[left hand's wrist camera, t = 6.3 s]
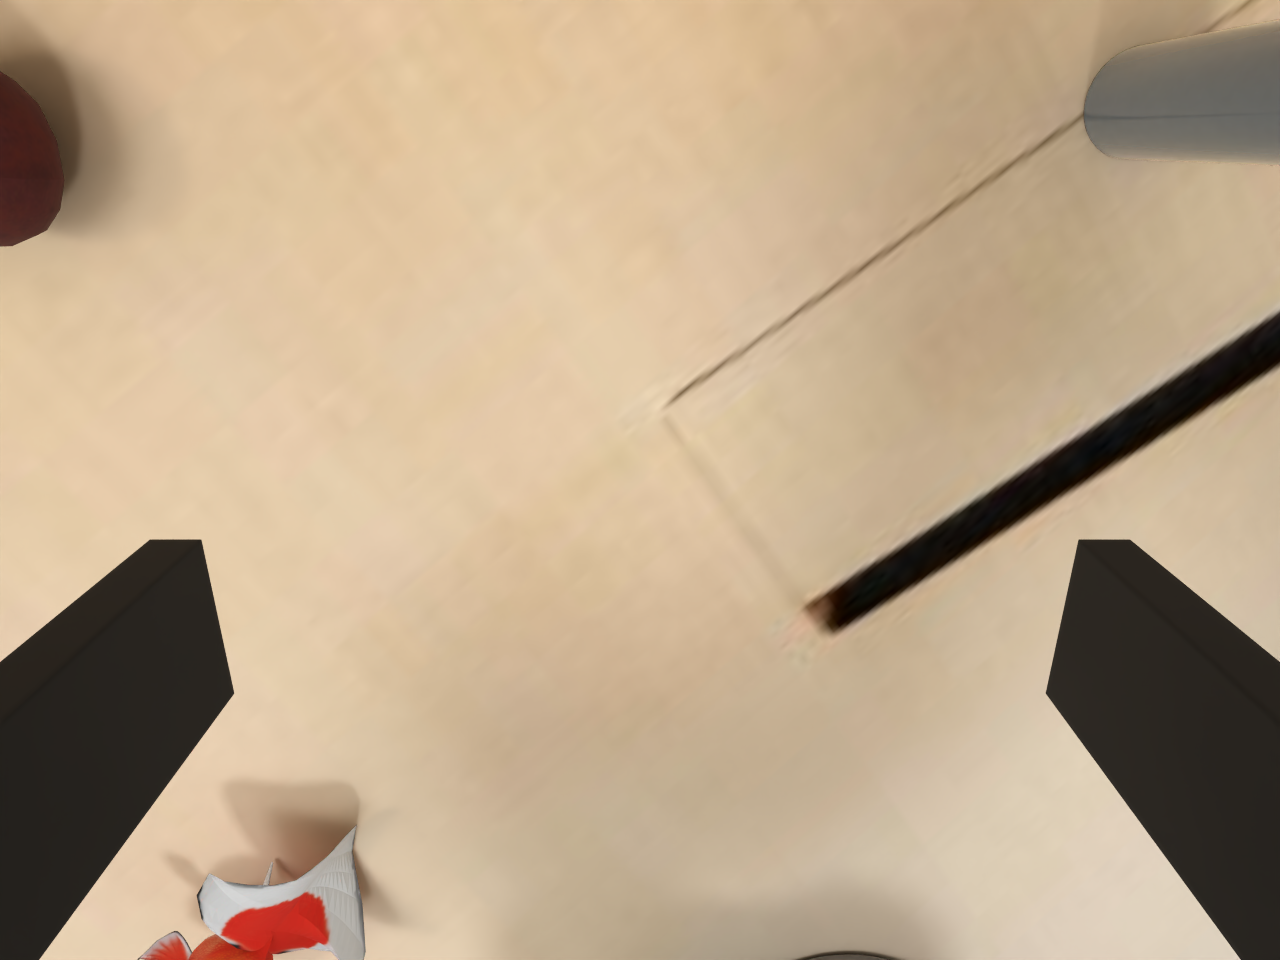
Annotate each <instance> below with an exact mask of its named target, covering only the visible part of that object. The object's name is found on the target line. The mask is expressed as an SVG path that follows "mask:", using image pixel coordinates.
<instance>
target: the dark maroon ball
mask: <svg viewBox="0 0 1280 960" xmlns="http://www.w3.org/2000/svg"><path fill="white" fill-rule="evenodd" d="M63 186H64V176H63V171H62V166H61V160H60V155H59V150H58V145H57V140H56V138H55V136H54V134H53V132H52V130H51V128H50V126H49V124H48V122H47V120H46V118H45V116H44V114H43V112H42V110H41V108H40V106H39V104H38V103H37V102H36V101H35V100H34V99H33V98H32V97H31V96H30V95H29V94H28V93H27V92H25V91H24V90H23V89H22V88H21V87H20V86H19V85H18V84H17V83H16V82H15V81H14V80H13V79H11V78H9V77H8V76H6V75H5V74H3V73H2V72H0V246H13V245H16V244H18V243H20V242H22V241H25V240H27V239H29V238H32V237H34V236H36V235H38V234H40V233H42V232H44V231H46V230H47V229H48V227H49V226H50V224H51V223H52V221H53V220H54V218H55V217H56V215H57V213H58V212H59V210H60V207H61V200H62V193H63Z"/></svg>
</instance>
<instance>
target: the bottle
mask: <svg viewBox="0 0 1280 960" xmlns="http://www.w3.org/2000/svg"><path fill="white" fill-rule="evenodd" d="M1084 122H1085V127H1086V130H1087V133H1088V135H1089V138H1090V139H1091V141H1092V142H1093V144H1094V145H1095V146H1096V147H1097V148H1098V149H1099V150H1100V151H1101V152H1103V153H1104V154H1106V155H1108V156H1111V157H1113V158H1118V159H1130V160H1154V161H1179V162H1203V163H1228V164H1252V165H1277V166H1280V19H1277V20H1272V21H1267V22H1261V23H1256V24H1251V25H1245V26H1240V27H1235V28H1229V29H1224V30H1219V31H1214V32H1208V33H1203V34H1198V35H1192V36H1187V37H1182V38H1176V39H1171V40H1166V41H1160V42H1155V43H1150V44H1144V45H1140V46H1135V47H1132V48H1129V49H1127V50H1125V51H1123V52H1121V53H1119V54H1118V55H1116V56H1115V57H1113V58H1112V59H1111V60H1110V61H1109V62H1107V63H1106V64H1105V66H1104V67H1103V68H1102V69H1101V70H1100V71H1099V73H1098V74H1097V75H1096V77H1095V79H1094V80H1093V82H1092V84H1091V86H1090V88H1089V91H1088V94H1087V96H1086V101H1085V106H1084Z"/></svg>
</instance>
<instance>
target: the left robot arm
mask: <svg viewBox="0 0 1280 960" xmlns="http://www.w3.org/2000/svg"><path fill="white" fill-rule="evenodd" d="M233 694H234V690H233V685H232V681H231V676H230V671H229V667H228V662H227V657H226V653H225V648H224V643H223V639H222V634H221V629H220V625H219V620H218V615H217V611H216V606H215V601H214V597H213V592H212V587H211V583H210V578H209V573H208V569H207V564H206V559H205V555H204V550H203V545H202V541H201V540H149V541H148V542H147V543H145V544H144V545H143V546H142V547H140V548H139V549H138V550H137V551H136V552H134V553H133V554H132V555H131V556H129V557H128V558H127V559H126V560H125V561H123V562H122V563H121V564H120V565H118V566H117V567H116V568H115V569H114V570H112V571H111V572H110V573H109V574H107V575H106V576H105V577H104V578H103V579H101V580H100V581H99V582H98V583H96V584H95V585H94V586H93V587H92V588H90V589H89V590H88V591H87V592H85V593H84V594H83V595H82V596H81V597H79V598H78V599H77V600H76V601H74V602H73V603H72V604H71V605H69V606H68V607H67V608H66V609H65V610H63V611H62V612H61V613H60V614H58V615H57V616H56V617H55V618H54V619H52V620H51V621H50V622H49V623H47V624H46V625H45V626H44V627H43V628H41V629H40V630H39V631H38V632H36V633H35V634H34V635H33V636H32V637H30V638H29V639H28V640H27V641H25V642H24V643H23V644H22V645H21V646H19V647H18V648H17V649H16V650H14V651H13V652H12V653H11V654H10V655H8V656H7V657H6V658H5V659H3V660H2V661H1V662H0V960H39V959H40V958H41V956H42V955H43V954H44V952H45V951H46V950H47V948H48V947H49V945H50V944H51V943H52V941H53V940H54V939H55V937H56V936H57V935H58V933H59V932H60V930H61V929H62V928H63V926H64V925H65V924H66V922H67V921H68V920H69V918H70V917H71V915H72V914H73V913H74V911H75V910H76V909H77V907H78V906H79V905H80V903H81V902H82V900H83V899H84V898H85V896H86V895H87V894H88V892H89V891H90V890H91V888H92V887H93V885H94V884H95V883H96V881H97V880H98V879H99V877H100V876H101V874H102V873H103V872H104V870H105V869H106V868H107V866H108V865H109V864H110V862H111V861H112V859H113V858H114V857H115V855H116V854H117V853H118V851H119V850H120V849H121V847H122V846H123V844H124V843H125V842H126V840H127V839H128V838H129V836H130V835H131V834H132V832H133V831H134V829H135V828H136V827H137V825H138V824H139V823H140V821H141V820H142V819H143V817H144V816H145V814H146V813H147V812H148V810H149V809H150V808H151V806H152V805H153V804H154V802H155V801H156V799H157V798H158V797H159V795H160V794H161V793H162V791H163V790H164V789H165V787H166V786H167V784H168V783H169V782H170V780H171V779H172V778H173V776H174V775H175V773H176V772H177V771H178V769H179V768H180V767H181V765H182V764H183V763H184V761H185V760H186V758H187V757H188V756H189V754H190V753H191V752H192V750H193V749H194V748H195V746H196V745H197V743H198V742H199V741H200V739H201V738H202V737H203V735H204V734H205V733H206V731H207V730H208V728H209V727H210V726H211V724H212V723H213V722H214V720H215V719H216V718H217V716H218V715H219V713H220V712H221V711H222V709H223V708H224V707H225V705H226V704H227V703H228V701H229V700H230V698H231V697H232V696H233ZM1046 694H1047V696H1048V697H1049V698H1050V700H1051V701H1052V703H1053V704H1054V705H1055V707H1056V708H1057V709H1058V711H1059V712H1060V713H1061V715H1062V716H1063V718H1064V719H1065V720H1066V722H1067V723H1068V724H1069V726H1070V727H1071V728H1072V730H1073V731H1074V733H1075V734H1076V735H1077V737H1078V738H1079V739H1080V741H1081V742H1082V743H1083V745H1084V746H1085V748H1086V749H1087V750H1088V752H1089V753H1090V754H1091V756H1092V757H1093V758H1094V760H1095V761H1096V763H1097V764H1098V765H1099V767H1100V768H1101V769H1102V771H1103V772H1104V773H1105V775H1106V776H1107V778H1108V779H1109V780H1110V782H1111V783H1112V784H1113V786H1114V787H1115V789H1116V790H1117V791H1118V793H1119V794H1120V795H1121V797H1122V798H1123V799H1124V801H1125V802H1126V804H1127V805H1128V806H1129V808H1130V809H1131V810H1132V812H1133V813H1134V814H1135V816H1136V817H1137V819H1138V820H1139V821H1140V823H1141V824H1142V825H1143V827H1144V828H1145V829H1146V831H1147V832H1148V834H1149V835H1150V836H1151V838H1152V839H1153V840H1154V842H1155V843H1156V844H1157V846H1158V847H1159V849H1160V850H1161V851H1162V853H1163V854H1164V855H1165V857H1166V858H1167V859H1168V861H1169V862H1170V864H1171V865H1172V866H1173V868H1174V869H1175V870H1176V872H1177V873H1178V874H1179V876H1180V877H1181V879H1182V880H1183V881H1184V883H1185V884H1186V885H1187V887H1188V888H1189V890H1190V891H1191V892H1192V894H1193V895H1194V896H1195V898H1196V899H1197V900H1198V902H1199V903H1200V905H1201V906H1202V907H1203V909H1204V910H1205V911H1206V913H1207V914H1208V915H1209V917H1210V918H1211V920H1212V921H1213V922H1214V924H1215V925H1216V926H1217V928H1218V929H1219V930H1220V932H1221V933H1222V935H1223V936H1224V937H1225V939H1226V940H1227V941H1228V943H1229V944H1230V945H1231V947H1232V948H1233V950H1234V951H1235V952H1236V954H1237V955H1238V956H1239V958H1240V959H1241V960H1280V662H1279V661H1278V660H1277V659H1275V658H1274V657H1273V656H1272V655H1270V654H1269V653H1268V652H1267V651H1266V650H1264V649H1263V648H1262V647H1261V646H1259V645H1258V644H1257V643H1256V642H1255V641H1253V640H1252V639H1251V638H1250V637H1248V636H1247V635H1246V634H1245V633H1244V632H1242V631H1241V630H1240V629H1239V628H1237V627H1236V626H1235V625H1234V624H1233V623H1231V622H1230V621H1229V620H1228V619H1226V618H1225V617H1224V616H1223V615H1222V614H1220V613H1219V612H1218V611H1217V610H1215V609H1214V608H1213V607H1212V606H1211V605H1209V604H1208V603H1207V602H1206V601H1204V600H1203V599H1202V598H1201V597H1199V596H1198V595H1197V594H1196V593H1195V592H1193V591H1192V590H1191V589H1190V588H1188V587H1187V586H1186V585H1185V584H1184V583H1182V582H1181V581H1180V580H1179V579H1177V578H1176V577H1175V576H1174V575H1173V574H1171V573H1170V572H1169V571H1168V570H1166V569H1165V568H1164V567H1163V566H1162V565H1160V564H1159V563H1158V562H1157V561H1155V560H1154V559H1153V558H1152V557H1151V556H1149V555H1148V554H1147V553H1146V552H1144V551H1143V550H1142V549H1141V548H1140V547H1138V546H1137V545H1136V544H1135V543H1133V542H1132V541H1131V540H1079V541H1078V545H1077V550H1076V555H1075V559H1074V564H1073V569H1072V573H1071V578H1070V583H1069V587H1068V592H1067V597H1066V601H1065V606H1064V611H1063V615H1062V620H1061V625H1060V629H1059V634H1058V639H1057V643H1056V648H1055V653H1054V657H1053V662H1052V667H1051V671H1050V676H1049V681H1048V685H1047V690H1046ZM808 960H888V959H884V958H880V957H874V956H867V955H852V954H844V955H830V956H822V957H817V958H812V959H808Z"/></svg>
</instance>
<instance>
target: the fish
mask: <svg viewBox="0 0 1280 960" xmlns="http://www.w3.org/2000/svg"><path fill="white" fill-rule="evenodd" d="M356 827H357V825H356V826H355V827H354V828H353V829H352V830H351V831H350V832H349V833H348V834H347V835H346V836H345V837H344V838H343V839H342V841H341V842H340V843H339V844H338V845H337V846H336V847H335V848H334V850H333V851H332V852H331V853H330V854H329V855H328V856H327V857H326V858H325V859H324V860H322V861H321V862H320V863H319V864H317V865H316V866H315V867H314V868H312V869H311V870H310V871H308V872H307V873H305V874H304V875H303V876H301V877H300V878H299V879H297V880H295V881H291V882H287V883H282V884H278V885H269V881H270V876H271V871H272V866H273V862H271V865H270V867H269V870H268V873H267V875H266V878H265V881H264V883H263V885H245V884H238V883H231V882H225V881H223V880H221V879H219V878H217V877H215V876H213V875H212V874H210V873H209V875H208V876H207V878H206V880H205V882H204V884H203V885H202V887H201V889H200V891H199V892H198V894H197V899H198V903H199V908H200V913H201V918H202V920H203V921H204V922H205V924H206V925H207V926H208V927H209V929H210V930H212V931H213V932H214V933H215V935H213V936H210V937H208V938H207V939H205V940H204V941H203V942H202V943H201V944H200V945H199V946H198V947H197V948H196V949H195V950H194V951H193V952H192V951H191V949H190V947H189V945H188V943H187V942H186V940H185V939H184V937H183V936H182V935H181V934H180V933H179V932H178V931H174V932H171V933H169V934H168V935H166V936H164V937H162V938H161V939H159V940H157V941H156V942H155V943H154V944H153V945H152V946H151V947H150V948H149V949H148V950H147V951H146V952H145V953H144V954H143V955H142V956H141V957H140V958H138V959H137V960H139V959H145V960H273V955H272V954H281V953H286V952H291V951H297V950H302V949H307V948H308V949H315V950H323V951H331V952H332V953H333V954H334V955H335V956H336V957H337V959H338V960H364V956H365V952H366V951H365V936H364V922H363V907H362V900H361V895H360V890H359V885H358V880H357V875H356V869H355V863H354V858H353V852H352V849H353V844H354V838H355V830H356Z"/></svg>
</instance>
